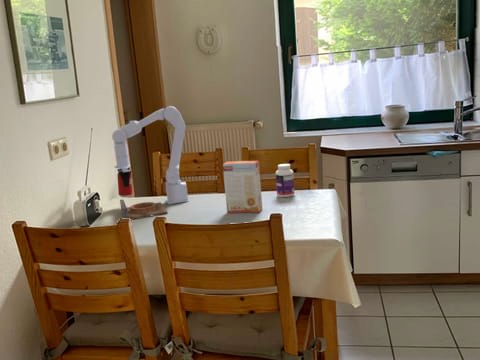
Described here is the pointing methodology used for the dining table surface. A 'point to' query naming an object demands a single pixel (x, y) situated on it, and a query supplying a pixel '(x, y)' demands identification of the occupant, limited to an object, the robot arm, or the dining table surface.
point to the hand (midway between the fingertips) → (126, 185)
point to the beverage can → (124, 190)
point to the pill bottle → (284, 181)
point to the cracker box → (242, 186)
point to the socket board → (142, 209)
